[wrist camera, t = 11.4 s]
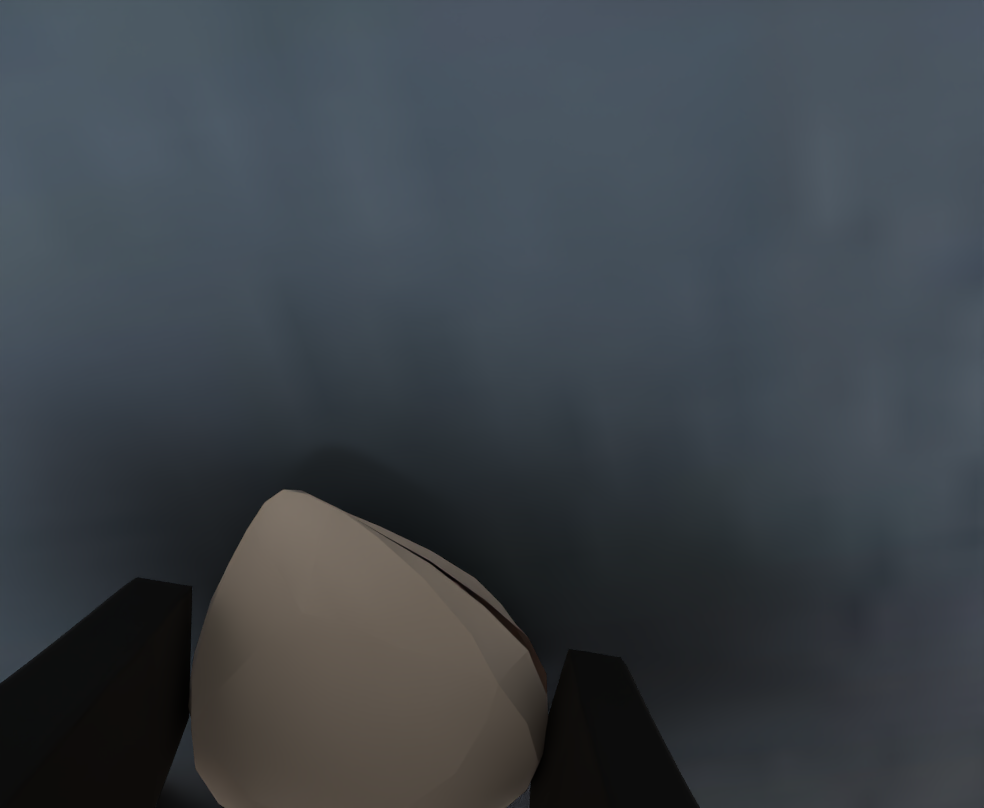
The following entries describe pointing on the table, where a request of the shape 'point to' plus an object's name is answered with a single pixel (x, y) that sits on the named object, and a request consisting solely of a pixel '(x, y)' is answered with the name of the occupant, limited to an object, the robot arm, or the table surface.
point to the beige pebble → (359, 673)
